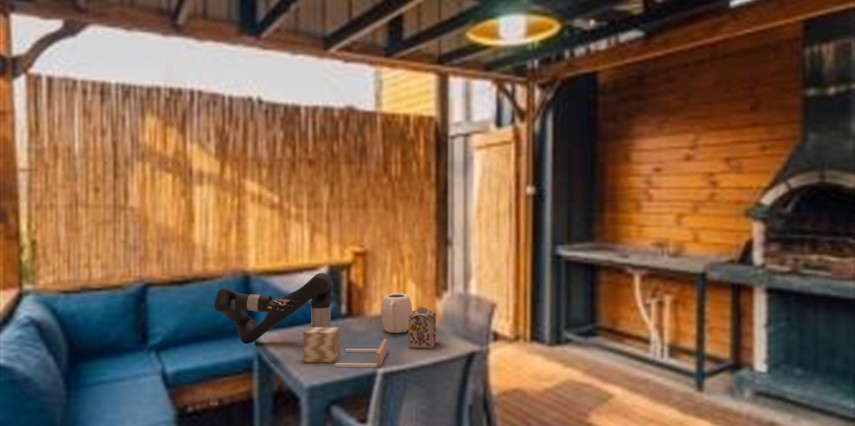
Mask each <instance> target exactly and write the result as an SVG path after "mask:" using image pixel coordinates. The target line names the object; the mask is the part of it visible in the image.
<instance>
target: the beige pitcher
mask: <svg viewBox="0 0 855 426" xmlns="http://www.w3.org/2000/svg"><path fill="white" fill-rule="evenodd" d="M380 306H381V307H380V313H381V320H382V322H381V323H382V326H383V329H384V331H385V332H387V333H390V334H391V333H392V334H401V333H406V332H407V331H408V325H409V320H408V319H409V316H410V313H411V312H412V311H413V307H412V301H411V298H410V295H408V294H406V293H405V290H401V293H399V292H398V293H396V292H395V293H388V294H386V295H384V296H383V298H382V302H381V305H380Z"/></svg>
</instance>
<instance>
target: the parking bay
mask: <svg viewBox="0 0 855 426" xmlns="http://www.w3.org/2000/svg"><path fill="white" fill-rule="evenodd" d="M345 353H372V354H373V353H376V357H375V358H376V363H375V362H374V363H369V362H365V363H361V362H348V363H347V362H335V368H381V366H382V364H383V362H384V360H385V358H386V355H387V353H388V338H383V339H382V342H381V344H380V346H379V347H378V348H346V349H345Z"/></svg>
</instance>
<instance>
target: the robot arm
mask: <svg viewBox="0 0 855 426" xmlns="http://www.w3.org/2000/svg"><path fill="white" fill-rule="evenodd" d="M331 292H332V282H331V278H330V276H329V275H327V273H324V272H318V273H316V274H315V275H314V276H313V277H312V278H311V279H310V280H308V281H307V282H306V283H305V284H304V285H302V286H301V287H300V288H299V289H297V290H294V291H293V292H290V293H288V294H285V296H283V297H282V298H276V299H273V297H272V295H269V294H255V293H253V294H252V293H251V294H249V293H248V294H247V293H240V292H237V291H234V290H231V289H228V288H220V289H219V290H217V293H216V296H215V299H214V303H213V309H214V310H215V311H216V312H218V313H221V314H223V315H225V317H226V318H227V319H228V320H230V321H231V322H233V323H235V325H236V328H237V333H238V336H239V338H240V340H241V343H242V344H245V345H246V344H247V345H248V344H251V343H253V342H256V341H257V340H258V339H260V338H261V337H262V336H263V335H265V334H266V333H267V332H269V330H271V329H272V328H273V327H274V326H276V325H278V324H279V323H281V322H282V321H283V320H285V319H287V318H288V317H290V316H291V315H292V314H294V313H296V311H298V310H299V309H300V308H302V307H303V306H304V305H305V304H307V302H309V301H310V300H311V302H310V307H311V308H310V310H311V311H310V312H311V313H310V314H311V322H310V326H309V327H332V325H331V324H332V323H331V320H332V319H331V300H332V299H331V298H332V293H331ZM244 311H251V312H260V313H266V315H265V316H264V318H263V320H262V321H261V322H260V323H259V324H258V325H257V322H256V320H254V318H252V317H251V316H250V315H248V314H246V313H245V312H244Z"/></svg>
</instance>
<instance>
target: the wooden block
mask: <svg viewBox="0 0 855 426" xmlns="http://www.w3.org/2000/svg"><path fill="white" fill-rule="evenodd" d="M340 336H341V335H340V326H339V327H338V326H337V327H334V326H333V327H332V326H331V327H310V326H309V327H307V328H306V329H305V330H304V331H303V332H302V337H303V362H304V363H307V362H309V363H310V362H311V363H318V362H319V363H337V361H338V359H339V357H340V356H341V349H340V348H341V343H340V339H341V338H340Z"/></svg>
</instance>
